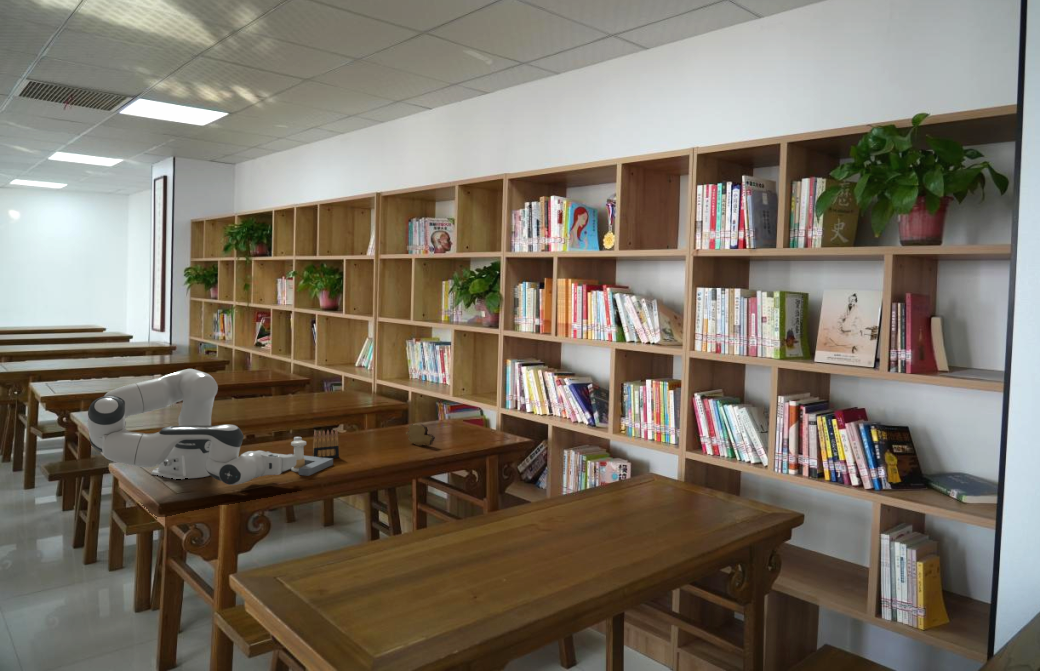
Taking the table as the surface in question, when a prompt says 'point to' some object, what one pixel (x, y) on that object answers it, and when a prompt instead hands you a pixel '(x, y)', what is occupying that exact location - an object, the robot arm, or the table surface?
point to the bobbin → (298, 454)
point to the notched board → (313, 463)
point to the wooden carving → (420, 435)
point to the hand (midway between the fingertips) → (280, 454)
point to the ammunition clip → (326, 445)
